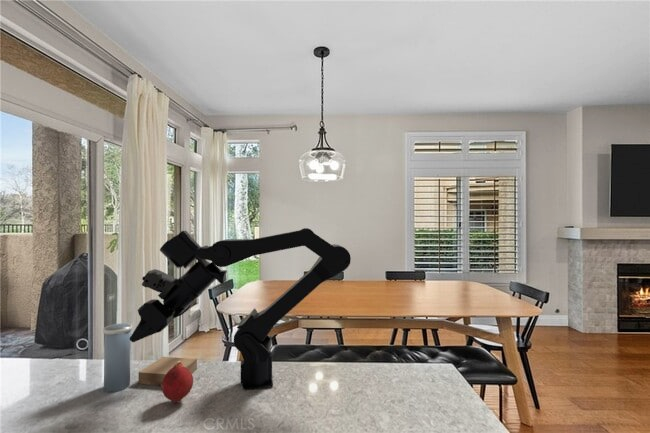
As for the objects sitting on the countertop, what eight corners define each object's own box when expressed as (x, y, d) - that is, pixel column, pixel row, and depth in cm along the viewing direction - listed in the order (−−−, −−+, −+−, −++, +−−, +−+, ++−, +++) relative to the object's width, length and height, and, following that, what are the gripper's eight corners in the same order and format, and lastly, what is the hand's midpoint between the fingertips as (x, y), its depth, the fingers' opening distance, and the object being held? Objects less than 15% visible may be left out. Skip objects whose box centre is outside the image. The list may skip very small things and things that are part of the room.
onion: (181, 411, 66) (181, 369, 66) (154, 408, 67) (155, 366, 68) (198, 396, 72) (198, 357, 72) (173, 393, 73) (174, 355, 73)
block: (196, 369, 85) (196, 359, 85) (175, 386, 76) (175, 374, 76) (162, 366, 87) (163, 356, 87) (138, 383, 78) (138, 372, 78)
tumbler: (134, 379, 79) (135, 322, 80) (126, 391, 74) (127, 329, 74) (107, 382, 78) (108, 324, 78) (98, 393, 73) (99, 331, 73)
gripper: (181, 253, 87) (135, 298, 86) (149, 262, 68) (89, 319, 67) (213, 285, 87) (167, 330, 86) (190, 302, 68) (130, 360, 67)
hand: (141, 333), depth 77 cm, fingers open, 9 cm apart
